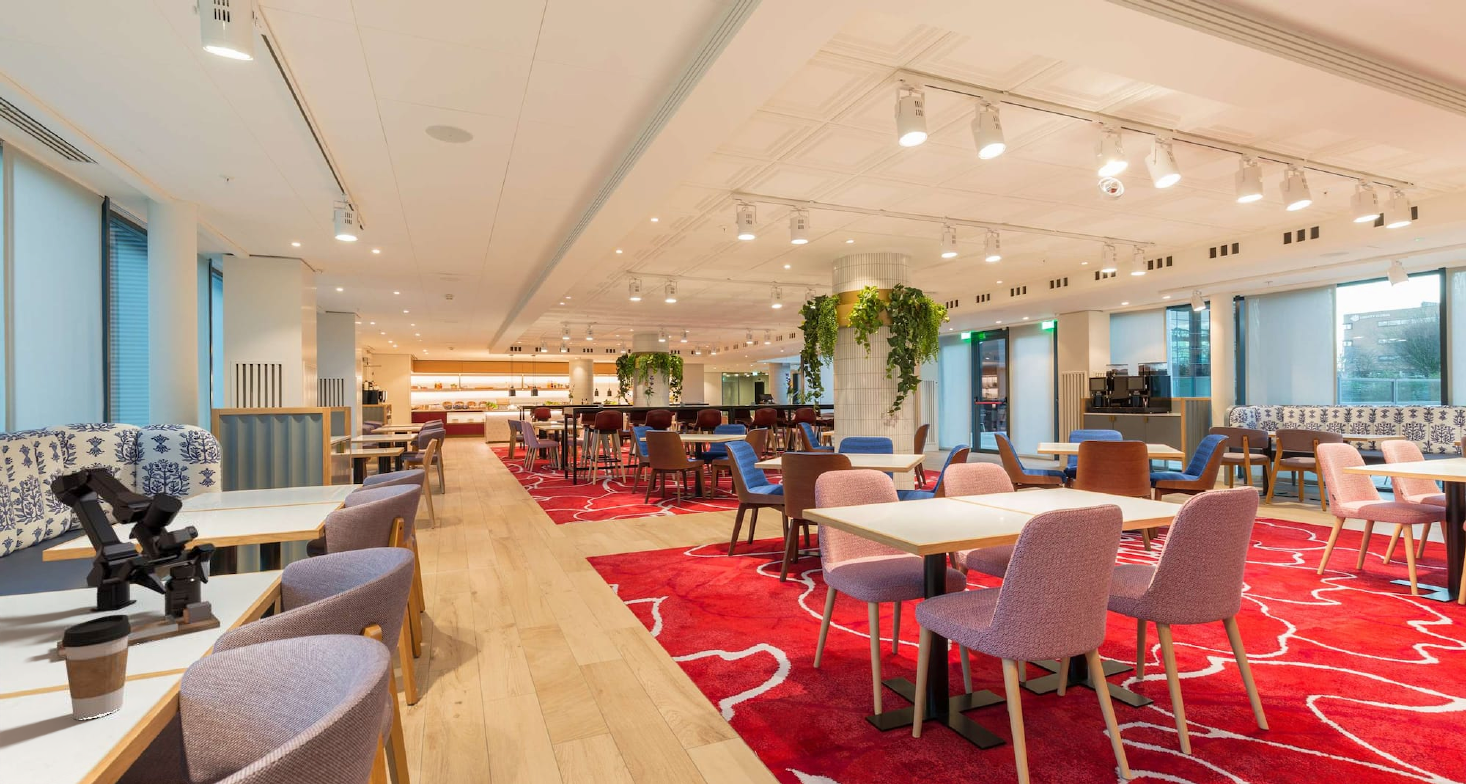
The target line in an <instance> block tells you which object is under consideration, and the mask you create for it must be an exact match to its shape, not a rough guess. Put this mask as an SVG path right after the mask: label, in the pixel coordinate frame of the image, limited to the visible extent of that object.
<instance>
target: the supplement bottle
mask: <svg viewBox="0 0 1466 784" xmlns="http://www.w3.org/2000/svg"><path fill="white" fill-rule="evenodd" d="M195 572H196V570H195V565H194V564H187V563H186V564H181V565H175V566H172V567H170V568H169V574H168V576H169V577H170V578H168V579H167V580H166V581H165V583H164V584H163V585H164V587H165V589H166V593H165V594H164V617H165V616H166V615H172V616H173V618H174V619H176V618H181V617H183V610H186V605H189V604H194V603H199V602H202V584H201V583H202V582H201V579H200V577H199V576H197V575H195V574H194V573H195Z"/></svg>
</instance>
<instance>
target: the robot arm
mask: <svg viewBox="0 0 1466 784" xmlns="http://www.w3.org/2000/svg"><path fill="white" fill-rule="evenodd" d="M50 491H51V493H52V494H53V495H54V496H55V497H56V499H57V501H59V503H61V504H63V505H66V506H67V507H69V508H72V509H73V512H74V513H75V515H76V517H77V519H78V521H79V523H80V524H81V526H82V529H83V530H84V532H85V534H86V536H87V538H88V540H89V541H90V543H91V545H92V548H93V549H94V551H95V555H94V558H93V561H92V569H91V570H90V572H89V573H88V574H87V576H86V583H87V586H88V587H94V588H96V590H97V591H96V606H95V607H92V608H90V611H91V612H92V611H109V610H120V609H122V607H123V608H125V607H127V605H128V606H130V605H132V604H135V603H137V602H138V601H137V599H131V590H130V589H131V587H130V584H131V585H132V584H134V585H137V586H141V587H144V588H146V589H149V590H151V591H153V592H156V593H158V594H160V595H162V596H163V595H164V596H165V593H166V589H165V587H164V585H165V584H163V582H162V580H161V579H160V578H159V576H158V574H157V573H156V570H155V569H156V568H164V567H168V566H169V567H170V566H173V565H177V564H182V563H186V565H187V564H194V565H195V570H196V572H195V573H194V575H197V576H199V577H200V579H201V583H203V584H204V585H206V584H208V583H209V575H208V563H209V562H210V560H211V558H212V557H213V555H214V554H215V552H216V551H217V548H216V546H215V545H214V544H213V543H212V542H207V543H201V544H196V545H193V547H192V549H191V550H190V551H189V552H186V553H183V552H182V551H185V549H186V548H187V546H186V545H187V544H189V543H190V542H193V541H194V540H195V539H197V538H198V537H199V532H198V529H197V528H196V527H195V526H194V525H190V526H186V527H185V528H182V529H176V530H171V531H168V530H167V528H166V527H168V526H169V525H171V524H172V523H173V521H174V519H175V518H176V517H177V515H178V514H179V513H180V511H181V509H182V507H183V502H182V500H181V499H178V498H177V497H176V496H174V495H170V494H167V493H166V492H165V491H163V492H162V491H161V492H155V494H154V495H153V497H152V498H151V497H150V496H148V495H145V494H142V493H136V492H134V491H132V490H130V488H129V487H127V486H125V484H123V483H122V482H120V481H119V480H118V479H117V478H116V477H114V476H113V475H112V474H111V472H110V469H108V468H106V467H103V466H102V467H91V468H84V469H81V470H79V471H77V472H74V473H69V474H63V475H62V474H61V475H58V476H57V477H56V478H55V479H53V481H51V483H50ZM98 496H99V497H101V498H102V499H103V500H104V501H105V502H106V503H108V504H109V505H110V507H112V511H111V515H112V516H113V517H114V519H115V520H116V521H117V522H118V523H119V524H120V525H124V526H125V525H131V524H134V525H133V527H132V528H131V530H130V533H129V535H128V540H135V539H136V541H137V542H138V544H139V545H140V547H141V548H142V550H141V552H139V551H138V550H137V548H136V546H135V544H134V543H133V542H132V541H127V542H122V541H121V540H120V538H119V536H118V535H117V533H116V531H115V529H114V527H113V525H112V524H111V522H110V521H109V518H108V517H107V514H106V513H105V511H104V509H103V507H102V506H101V504H100V502H99V500H98ZM140 554H141V555H140ZM134 602H135V603H134ZM129 604H130V605H129Z"/></svg>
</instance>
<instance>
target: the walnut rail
mask: <svg viewBox="0 0 1466 784" xmlns="http://www.w3.org/2000/svg"><path fill="white" fill-rule="evenodd" d="M164 617H165V620H162V621H156V622H151V623H146V624H141V625H136V626H132V627H131V633H130V634H129V635H128V641H127V644H128V645H129V647H131V646H130V645H132V646H135V645H134V644H137V643H142V644H145V643H144V642H146V643H149V642H148V641H151V642H153V641H152V640H156V641H160V640H159V639H161V640H164V639H163V638H165V639H169V638H168V637H170V638H174V637H179V636H183V635H188V634H193V633H197V632H198V633H199V632H202V631H207V630H210V629H216V628H221V621H220V620H219V619H218V617H216V616H215V614H213V612H212V603H211V602H210V601H209V600H206V601H201V602H199V603H194V604H189V605H186V610H183V617H181V618H176V619H174V618H173V616H172V615H166V616H165V615H164ZM70 627H71V626H67V627H64V628H63V633H65V630H66V629H68V628H70ZM62 643H63V642H62V640H61V641H57V642H56V649H57V655H58V661H59V662H62V661H65V657H66V647H64V646H62ZM137 645H138V644H137ZM61 660H62V661H61Z"/></svg>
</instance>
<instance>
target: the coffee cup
mask: <svg viewBox="0 0 1466 784" xmlns="http://www.w3.org/2000/svg"><path fill="white" fill-rule="evenodd" d="M69 627H70V628H68V629H66V630H65V633H64V632H63V633H64V634H63V638H62V640H61V641H62V642H63V643H62V646H64V647H66V657H65V660H64V661H65V666H66V674H67V680H68V682H67V683H68V687H69V695H70V698H71V708H72V716H73V719H74V718H75V719H83V718H88V717H94V716H97V715H99V714H104V713H107V712H113V711H114V710H116V709H119V708H121V706H122V707H123V706H124V705H123V703H124V692H125V691H124V689H125V683H126V673H127V672H126V671H127V665H128V664H127V663H128V656H129V655H128V654H129V647H130V646H129V645H128V644H127V641H128V635H129V634H130V633H131V625H130V621H129V617H128V615H127V614H112V615H105V616H101V617H96V618H93V619H90V620H87V621H84V622H81V623H78V624H74V625H73V626H72V625H71V626H69ZM121 709H122V708H121ZM75 719H74V720H75Z"/></svg>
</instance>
